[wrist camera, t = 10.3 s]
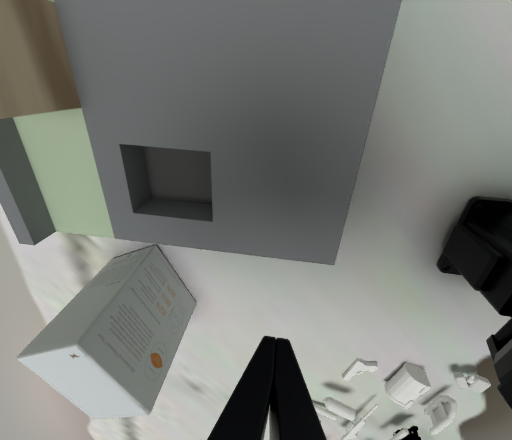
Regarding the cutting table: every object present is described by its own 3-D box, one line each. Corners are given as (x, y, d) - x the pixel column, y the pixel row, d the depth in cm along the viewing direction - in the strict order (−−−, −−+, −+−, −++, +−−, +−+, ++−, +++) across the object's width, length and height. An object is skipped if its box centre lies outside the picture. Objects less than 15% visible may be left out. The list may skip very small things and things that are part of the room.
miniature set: (328, 484, 43) (261, 448, 44) (474, 355, 28) (365, 306, 29) (328, 541, 37) (251, 498, 38) (512, 419, 22) (374, 354, 23)
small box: (112, 257, 26) (10, 357, 16) (157, 242, 24) (73, 344, 15) (155, 312, 29) (91, 422, 20) (198, 303, 27) (149, 418, 18)
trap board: (450, -284, 10) (575, -573, 5) (329, 242, 21) (338, 284, 17) (-86, -252, 12) (-307, -444, 7) (70, 212, 23) (19, 243, 19)
